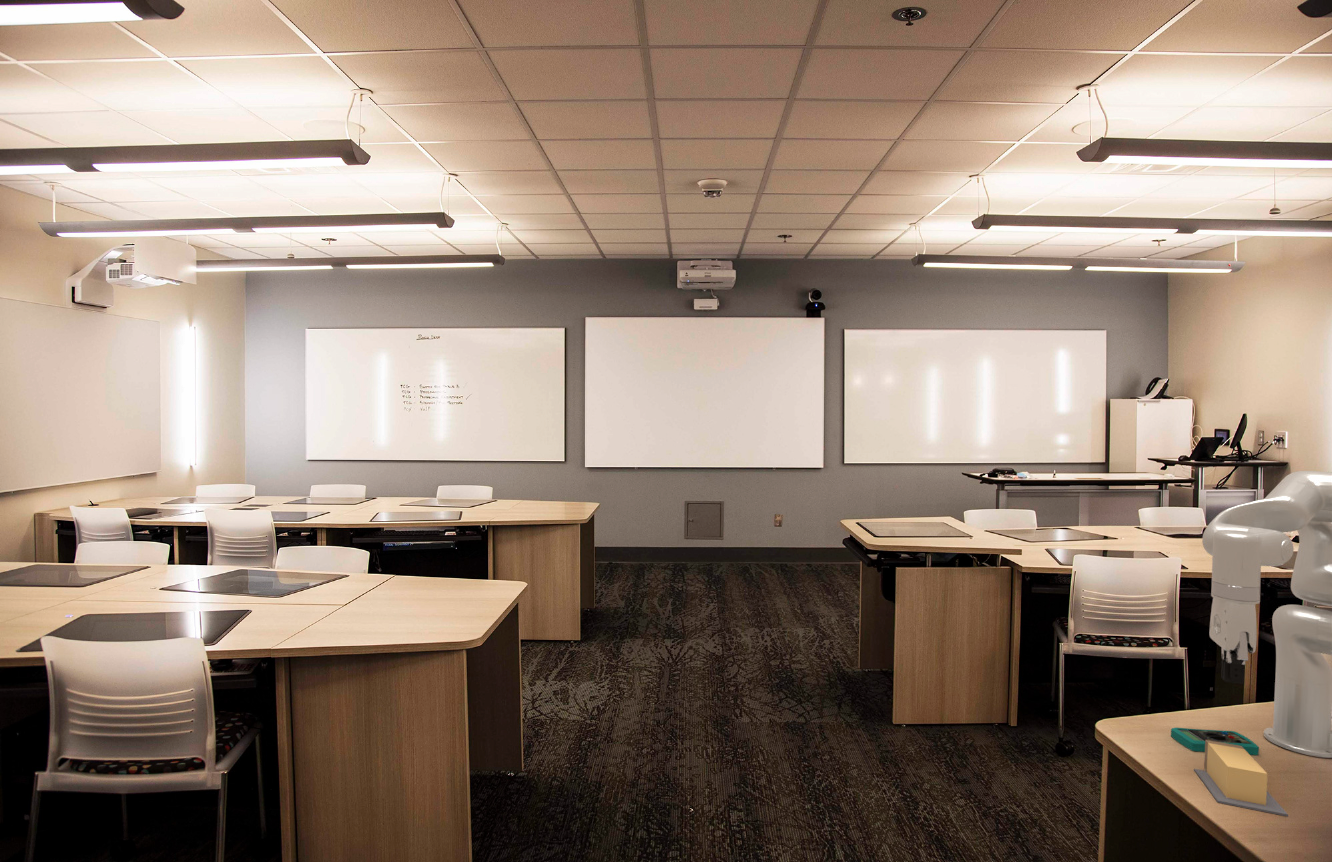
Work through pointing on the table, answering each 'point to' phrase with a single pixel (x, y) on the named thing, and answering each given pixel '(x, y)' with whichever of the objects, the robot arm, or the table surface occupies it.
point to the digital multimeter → (1211, 739)
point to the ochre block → (1235, 772)
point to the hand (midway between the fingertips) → (1232, 681)
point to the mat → (1221, 798)
